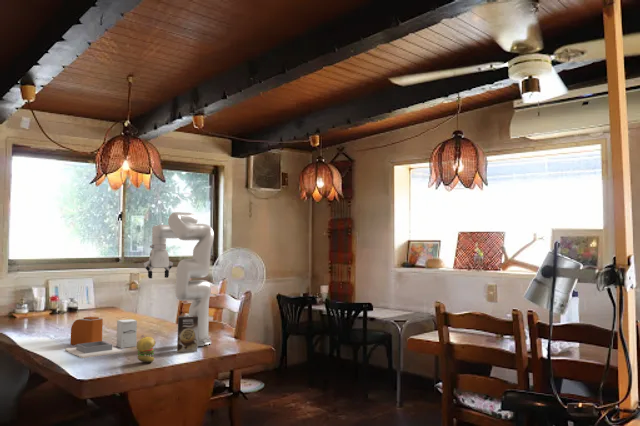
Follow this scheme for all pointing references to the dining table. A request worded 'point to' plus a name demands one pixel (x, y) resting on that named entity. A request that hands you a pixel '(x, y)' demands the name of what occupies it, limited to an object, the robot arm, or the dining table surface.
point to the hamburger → (145, 349)
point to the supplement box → (126, 333)
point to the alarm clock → (86, 330)
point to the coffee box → (187, 333)
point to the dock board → (93, 349)
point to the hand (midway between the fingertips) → (158, 277)
